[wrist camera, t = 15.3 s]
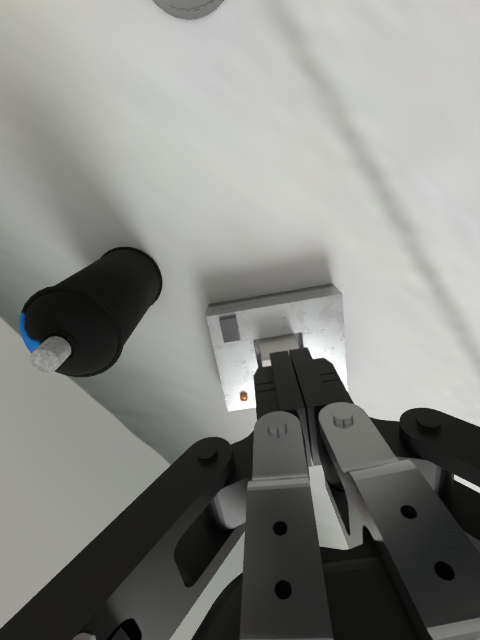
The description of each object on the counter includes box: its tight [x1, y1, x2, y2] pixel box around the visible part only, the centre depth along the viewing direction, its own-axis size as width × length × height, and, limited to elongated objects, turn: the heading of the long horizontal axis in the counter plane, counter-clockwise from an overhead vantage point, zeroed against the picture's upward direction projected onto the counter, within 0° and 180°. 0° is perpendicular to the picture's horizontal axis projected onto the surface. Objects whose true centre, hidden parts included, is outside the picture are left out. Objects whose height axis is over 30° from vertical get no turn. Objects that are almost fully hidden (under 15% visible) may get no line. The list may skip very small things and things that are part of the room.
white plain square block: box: [259, 333, 299, 367], centre depth 41 cm, size 4×4×7 cm
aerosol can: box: [20, 247, 162, 377], centre depth 32 cm, size 8×8×20 cm
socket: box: [206, 284, 347, 411], centre depth 43 cm, size 14×16×5 cm
